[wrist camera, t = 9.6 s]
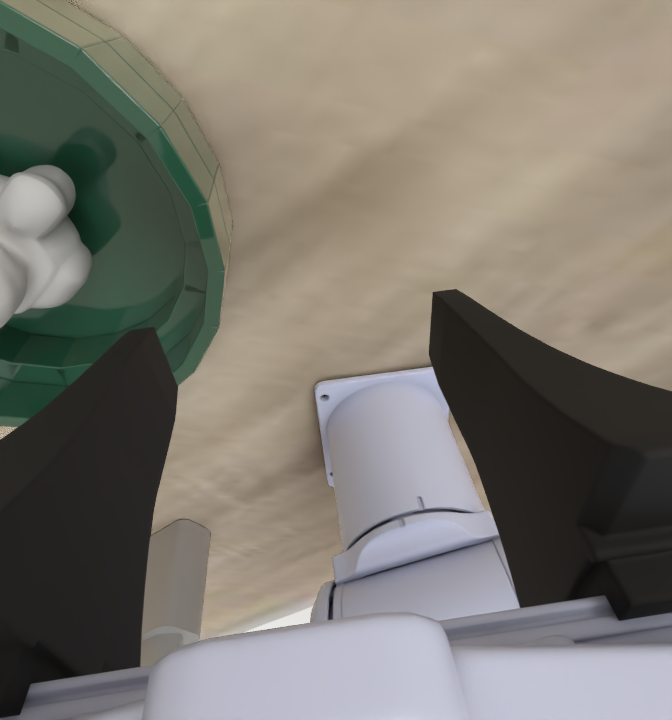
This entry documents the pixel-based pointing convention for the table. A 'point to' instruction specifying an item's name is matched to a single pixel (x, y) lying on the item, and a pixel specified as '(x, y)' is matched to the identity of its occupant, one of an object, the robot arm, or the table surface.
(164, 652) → the power adapter
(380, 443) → the robot arm
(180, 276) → the bowl
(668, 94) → the table surface
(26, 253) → the grey lumpy piece
